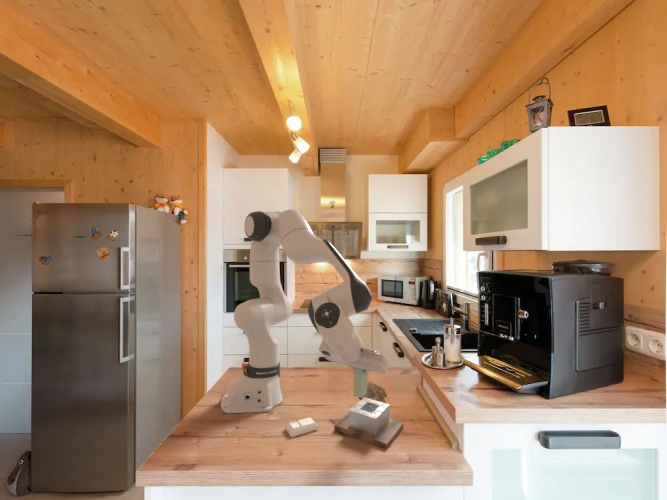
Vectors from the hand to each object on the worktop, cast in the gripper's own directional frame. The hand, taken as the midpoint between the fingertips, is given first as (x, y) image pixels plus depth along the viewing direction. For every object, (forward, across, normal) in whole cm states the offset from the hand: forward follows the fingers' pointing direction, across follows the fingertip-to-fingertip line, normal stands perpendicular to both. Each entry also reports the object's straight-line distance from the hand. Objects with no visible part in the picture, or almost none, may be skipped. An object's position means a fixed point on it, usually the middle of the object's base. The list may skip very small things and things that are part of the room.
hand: (362, 370), depth 104 cm
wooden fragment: (+36, +9, -5) cm, 37 cm away
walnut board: (+19, 0, +11) cm, 22 cm away
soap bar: (+10, +17, +20) cm, 29 cm away
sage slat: (+5, 0, +6) cm, 7 cm away
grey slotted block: (+18, 0, +10) cm, 20 cm away
